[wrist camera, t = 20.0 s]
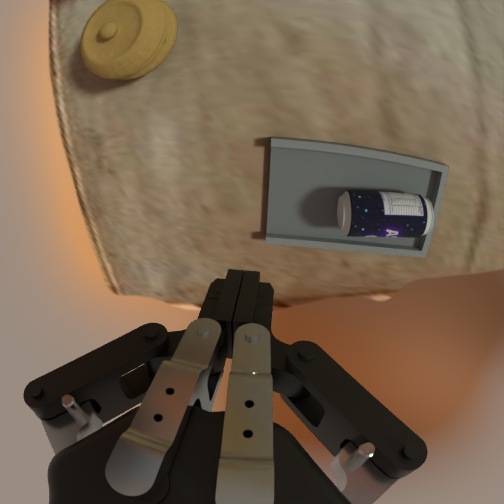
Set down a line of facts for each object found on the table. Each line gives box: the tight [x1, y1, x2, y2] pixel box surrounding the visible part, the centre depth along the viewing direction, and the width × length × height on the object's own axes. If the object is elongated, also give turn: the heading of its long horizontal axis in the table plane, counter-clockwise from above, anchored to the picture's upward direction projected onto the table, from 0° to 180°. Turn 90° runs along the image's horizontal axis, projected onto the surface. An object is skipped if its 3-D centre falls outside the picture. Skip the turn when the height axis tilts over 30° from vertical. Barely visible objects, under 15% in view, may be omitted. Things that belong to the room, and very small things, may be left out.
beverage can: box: [337, 190, 434, 238], centre depth 33 cm, size 6×6×12 cm
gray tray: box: [265, 137, 449, 258], centre depth 35 cm, size 24×14×2 cm, turn 88°
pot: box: [80, 0, 178, 80], centre depth 23 cm, size 12×12×10 cm
